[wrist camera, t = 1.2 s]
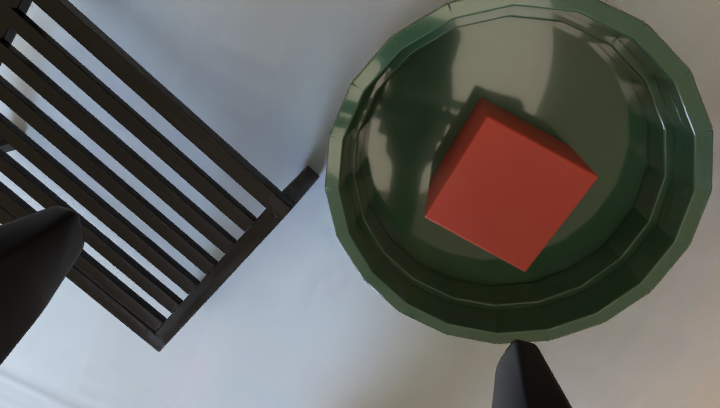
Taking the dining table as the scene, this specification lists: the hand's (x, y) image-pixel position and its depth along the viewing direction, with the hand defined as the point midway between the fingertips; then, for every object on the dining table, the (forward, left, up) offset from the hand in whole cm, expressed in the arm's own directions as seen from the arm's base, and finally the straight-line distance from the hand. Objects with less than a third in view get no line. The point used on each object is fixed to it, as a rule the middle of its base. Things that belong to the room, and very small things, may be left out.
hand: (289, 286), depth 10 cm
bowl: (-5, -3, -14) cm, 15 cm away
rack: (+8, +9, -14) cm, 19 cm away
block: (-5, -3, -14) cm, 15 cm away
